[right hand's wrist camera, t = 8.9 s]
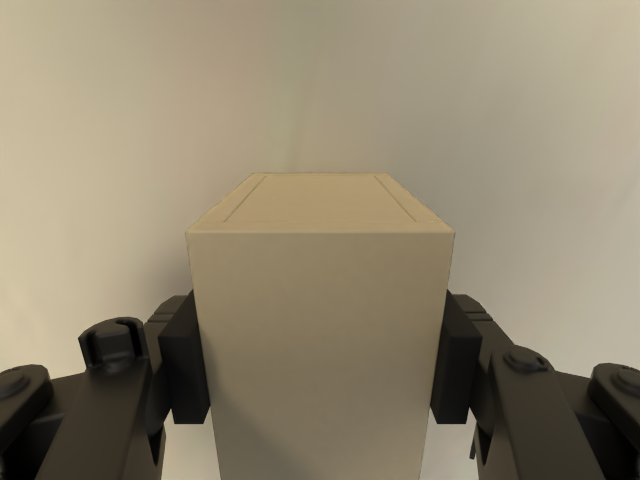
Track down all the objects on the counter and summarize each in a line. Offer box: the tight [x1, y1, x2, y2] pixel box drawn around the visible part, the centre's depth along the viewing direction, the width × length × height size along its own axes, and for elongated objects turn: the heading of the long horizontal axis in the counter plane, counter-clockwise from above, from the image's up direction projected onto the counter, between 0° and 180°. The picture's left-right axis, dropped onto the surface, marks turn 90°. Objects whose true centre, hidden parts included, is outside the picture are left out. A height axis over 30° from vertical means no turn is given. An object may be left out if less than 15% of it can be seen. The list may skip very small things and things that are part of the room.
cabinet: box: [185, 173, 455, 480], centre depth 14 cm, size 17×6×8 cm, turn 0°
